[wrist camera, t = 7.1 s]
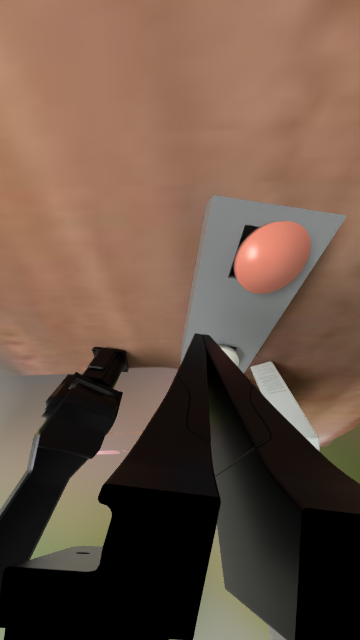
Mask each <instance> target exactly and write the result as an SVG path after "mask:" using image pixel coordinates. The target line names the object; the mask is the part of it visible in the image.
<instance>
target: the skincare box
mask: <svg viewBox="0 0 360 640" xmlns="http://www.w3.org/2000/svg"><path fill="white" fill-rule="evenodd" d="M251 370H252V373H253V375H254V378H255V380H256V382H257V385H258V387H259V389H260V391H261V393H262V394H263V395H264V397H265V398H266V399H267V400H268V401H269V402H270V403H271V404H272V405H273V406H274V407H275V408H276V409H277V410H278V411H279V412H280V413H281V414H282V415H283V416H284V417H285V418H286V419H287V420H288V421H289V422H290V423H291V424H292V425H293V426H294V427H295V428H296V429H297V430H298V431H299V432H300V433H301V434H302V435H303V436H304V437H305V438H306V439H307V440H308V441H309V442H310V443H311V444H312V445H313V446H314V447H315V448H316V449H317V450H320V449H319V448H320V447H319V437H318V435H317V434H316V432H315V430H314V429H313V427H312V426H311V424H310V422H309V421H308V419H307V418H306V416H305V414H304V413H303V411H302V409H301V408H300V406H299V405H298V403H297V401H296V400H295V398H294V396H293V395H292V393H291V392H290V390H289V388H288V387H287V385H286V384H285V382H284V380H283V379H282V377H281V375H280V374H279V372H278V371H277V369H276V367H275V366H274V364H273V363H272V362H271V361H270V362H266V363H262V364H259V365H254V366H251Z"/></svg>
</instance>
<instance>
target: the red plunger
mask: <svg viewBox="0 0 360 640" xmlns="http://www.w3.org/2000/svg"><path fill="white" fill-rule="evenodd" d="M310 249H311V241H310V237H309V234H308V232H307V230H306V229H305V228H304V227H303V226H301V225H300V224H298V223H295V222H291V221H279V222H272V223H268V224H265V225H263V226H261V227H259V228H258V229H256V230H254V231H253V232H252V233H251V234H249V235H246V236H244V237H242V238H241V239H240V242H239V245H238V248H237V251H236V254H235V258H234V261H233V262H234V274H235V277H236V279H237V280H238V282H239V283H240V284H241V285H242V286H243V287H244V288H245V289H246V290H248V291H250V292H252V293H257V294H265V293H270V292H274V291H277V290H279V289H281V288H283V287H284V286H286V285H287V284H289V283H290V282H291V281H293V280H294V279H295V278H296V277H297V276H298V275H299V273H300V272H301V271H302V269H303V268H304V266H305V264H306V263H307V260H308V258H309V254H310Z"/></svg>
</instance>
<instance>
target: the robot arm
mask: <svg viewBox="0 0 360 640" xmlns="http://www.w3.org/2000/svg"><path fill="white" fill-rule="evenodd" d="M92 351H93V354H94V359H93V360H92V361H91V363H90V364H89V366H88V368H87V369H86V371H85V372H84V373H83V375H81V374H79V373H78V372H76V373H75V374H74V375H67V377H66V378H65V379H64V380H63V382H62V383H61V384H60V385H59V386H58V388H57V389H56V390H55V391H54V392H53V393H52V395H51V396H50V397H49V398H48V400H47V401H46V409H45V410H46V411H45V413H44V414H43V415H42V417H44V418H47V419H46V420H45V422H44V423H43V424H42V426H41V427H40V429H39V430H38V431H37V433H36V434H35V436H34V438H33V443H32V448H31V453H30V457H29V462H28V467H27V470H26V472H25V474H24V475H23V477H22V478H21V480H20V481H19V483H18V484H17V485H16V487H15V488H14V490H13V491H12V493H11V494H10V496H9V498H8V499H7V500H6V502H5V503H4V505H3V506H2V508H1V509H0V628H5V636H4V640H169V639H177V640H193V637H194V632H195V626H196V621H197V616H198V612H199V607H200V602H201V597H202V592H203V587H204V583H205V578H206V573H207V568H208V563H209V558H210V553H211V548H212V544H213V539H214V534H215V529H216V525H217V526H218V535H219V543H220V552H221V560H222V568H223V576H224V583H225V589H226V590H227V591H229V592H230V593H231V594H232V595H233V596H235V597H236V598H237V599H238V600H239V601H240V602H242V603H243V604H244V605H245V606H246V607H248V608H249V609H250V610H251V611H252V612H254V613H255V614H256V615H257V616H259V618H261V619H262V620H263V621H264V622H266V623H267V624H268V627H269V632H270V637H271V640H360V484H359V483H358V482H356V481H355V480H353V479H351V478H350V477H349V476H348V475H346V474H345V473H344V472H342V471H341V470H340V469H338V468H337V467H336V466H335V465H334V464H333V463H331V462H330V461H329V460H328V459H327V458H326V457H325V456H324V455H323V454H322V453H321V452H320V451H319V450H317V449H316V448H315V447H314V446H313V445H312V444H311V443H310V442H309V441H308V440H307V439H306V438H305V437H304V436H303V435H302V434H301V433H300V432H299V431H298V430H297V429H296V428H295V427H294V426H293V425H292V424H291V423H290V422H289V421H288V420H287V419H286V418H285V417H284V416H283V415H282V414H281V413H280V412H279V411H278V410H277V409H276V408H275V407H274V406H273V405H272V404H271V403H270V402H269V401H268V400H267V399H266V398H265V397H264V395H263V394H262V393H261V392H260V391H259V390H258V389H257V388H256V387H255V385H252V382H251V381H250V380H249V379H248V378H247V377H246V375H245V374H244V373H243V372H242V371H241V370H240V369H239V368H238V367H237V365H236V364H235V363H234V362H233V361H232V360H231V359H230V358H229V356H228V355H227V354H226V353H225V352H224V351H223V350H222V349H221V347H220V346H219V345H218V344H217V343H216V342H215V341H214V340H213V339H212V337H211V336H210V335H207V334H199V333H195V334H194V336H193V338H192V340H191V343H190V345H189V347H188V349H187V351H186V354H185V356H184V358H183V360H182V363H181V365H180V367H179V369H178V372H177V374H176V376H175V378H174V380H173V382H172V385H171V386H170V388H169V390H168V392H167V394H166V396H165V398H164V399H163V401H162V403H161V404H160V406H159V408H158V409H157V411H156V412H155V414H154V415H153V417H152V419H151V420H150V422H149V423H148V425H147V427H146V428H145V430H144V431H143V433H142V434H141V436H140V438H139V439H138V441H137V442H136V444H135V445H134V446H133V448H132V449H131V451H130V452H129V454H128V455H127V456H126V458H125V459H124V460H123V462H122V463H121V464H120V466H119V467H118V468H117V469H116V470H115V472H114V473H113V474H112V475H111V476H110V478H109V479H108V480H107V481H106V482H105V484H104V485H103V486H102V488H101V491H100V494H99V496H98V500H99V502H100V503H101V504H104V505H107V506H108V507H109V508H110V509H111V512H112V518H111V522H110V525H109V529H108V532H107V535H106V539H105V542H104V545H103V547H94V546H79V547H78V546H77V547H71V548H68V549H64V550H61V551H58V552H54V553H51V554H48V555H45V556H41V557H38V558H35V559H32V560H30V558H31V556H32V554H33V552H34V550H35V548H36V545H37V544H38V542H39V540H40V538H41V536H42V533H43V531H44V529H45V527H46V525H47V523H48V521H49V519H50V517H51V515H52V513H53V511H54V509H55V507H56V505H57V503H58V501H59V499H60V497H61V495H62V493H63V491H64V489H65V487H66V485H67V483H68V481H69V479H70V478H71V476H72V475H73V474H74V473H75V472H76V471H77V470H78V469H79V468H80V467H81V466H82V465H83V464H84V463H85V462H86V461H87V460H88V459H92V458H93V457H94V456H95V455H96V453H97V452H98V451H99V450H100V448H101V445H102V443H103V440H104V437H105V435H106V434H107V433H108V432H109V430H110V429H111V427H112V426H113V424H114V422H115V419H116V417H117V413H118V409H119V405H120V402H121V398H122V394H123V393H122V392H119V391H117V390H114V387H115V385H116V382H117V380H118V378H119V376H120V374H121V372H128V363H127V357H126V352H125V351H121V350H113V349H105V348H97V347H94V348H93V349H92ZM68 388H70V389H68Z"/></svg>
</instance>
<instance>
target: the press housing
mask: <svg viewBox="0 0 360 640" xmlns="http://www.w3.org/2000/svg"><path fill="white" fill-rule="evenodd" d="M345 218H346V215H340V214H333V213H327V212H320V211H314V210H307V209H301V208H294V207H287V206H281V205H274V204H268V203H261V202H255V201H248V200H242V199H235V198H229V197H222V196H216V195H213V196H212V198H211V199H210V200H209V201H208V203H207V204H206V209H205V214H204V220H203V226H202V231H201V237H200V242H199V248H198V254H197V259H196V265H195V271H194V276H193V282H192V288H191V293H190V299H189V305H188V310H187V316H186V322H185V327H184V333H183V339H182V345H181V360H180V365H181V363H182V360H183V358H184V356H185V354H186V351H187V349H188V347H189V345H190V343H191V340H192V338H193V336H194V334H195V333H199V334H207V335H210V336H211V337H212V339H213V340H214V341H215V342H216V343H217V344H218V345H225V346H227V347H230V348H232V349H234V350H235V351H236V353H237V356H238V358H239V364H238V366H237V367H238V368H239V369H240V370H241V371H242V372H243V373H244V372H245V371H246V369H247V367H248V366H249V364H250V363H251V361H252V360H253V358H254V357H255V355H256V354H257V352H258V351H259V349H260V348H261V346H262V345H263V343H264V342H265V340H266V338H267V337H268V335H269V334H270V332H271V331H272V329H273V328H274V326H275V325H276V323H277V322H278V320H279V319H280V317H281V316H282V314H283V313H284V311H285V309H286V308H287V306H288V305H289V303H290V302H291V300H292V299H293V297H294V296H295V294H296V293H297V291H298V290H299V288H300V287H301V285H302V284H303V282H304V280H305V279H306V277H307V276H308V274H309V273H310V271H311V270H312V268H313V267H314V265H315V264H316V262H317V261H318V259H319V258H320V256H321V255H322V253H323V251H324V250H325V248H326V247H327V245H328V244H329V242H330V241H331V239H332V238H333V236H334V235H335V233H336V232H337V230H338V229H339V227H340V226H341V224H342V222H343V221H344V219H345ZM279 221H291V222H295V223H298V224H300V225H301V226H303V227H304V228H305V229H306V230H307V232H308V234H309V237H310V241H311V249H310V254H309V258H308V260H307V263H306V264H305V266H304V268H303V269H302V271H301V272H300V273H299V275H298V276H297V277H296V278H295V279H294V280H293V281H291V282H290V283H289V284H287V285H286V286H284V287H283V288H281V289H279V290H277V291H274V292H270V293H265V294H257V293H252V292H250V291H248V290H246V289H245V288H244V287H243V286H242V285H241V284H240V283H239V282H238V280H237V279H236V277H235V274H234V262H233V261H234V258H235V254H236V251H237V248H238V245H239V242H240V239H241V238H242V237H244V236H246V235H249V234H251V233H252V232H253V231H254V230H256V229H258V228H259V227H261V226H263V225H265V224H268V223H272V222H279Z"/></svg>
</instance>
